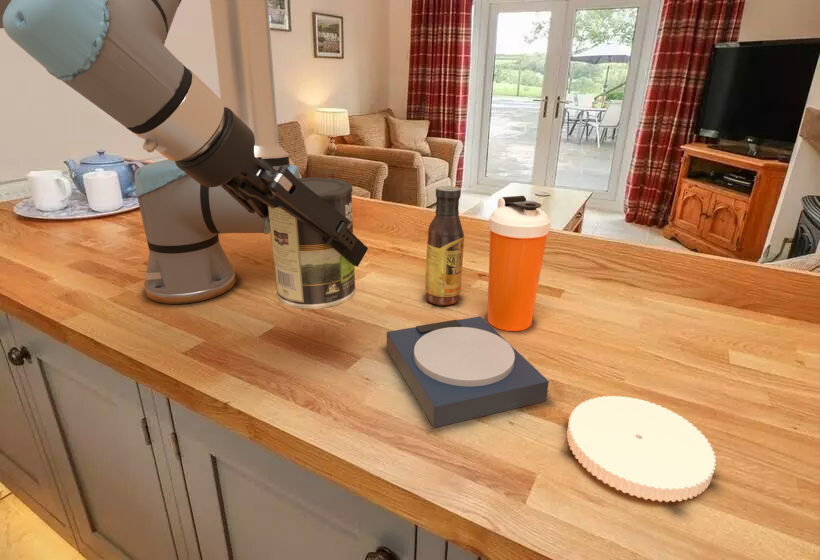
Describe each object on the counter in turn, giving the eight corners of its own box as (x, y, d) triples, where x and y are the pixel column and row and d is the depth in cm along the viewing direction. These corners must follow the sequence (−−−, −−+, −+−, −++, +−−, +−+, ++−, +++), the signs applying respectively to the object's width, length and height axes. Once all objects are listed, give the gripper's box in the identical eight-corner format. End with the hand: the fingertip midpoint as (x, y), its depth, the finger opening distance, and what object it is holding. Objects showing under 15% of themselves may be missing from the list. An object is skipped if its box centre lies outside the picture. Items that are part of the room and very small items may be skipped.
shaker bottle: (504, 339, 74) (516, 210, 66) (470, 315, 82) (478, 196, 74) (549, 327, 78) (566, 203, 70) (513, 304, 85) (525, 191, 77)
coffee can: (365, 280, 68) (362, 179, 62) (341, 314, 59) (335, 198, 53) (295, 273, 70) (287, 174, 64) (261, 305, 61) (247, 192, 55)
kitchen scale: (386, 349, 71) (386, 325, 70) (479, 333, 76) (480, 310, 74) (433, 428, 56) (434, 399, 54) (546, 401, 60) (550, 374, 59)
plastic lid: (735, 467, 51) (742, 448, 50) (661, 535, 43) (668, 514, 42) (614, 399, 61) (618, 382, 60) (538, 443, 54) (541, 425, 53)
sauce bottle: (449, 310, 83) (455, 194, 75) (418, 301, 86) (420, 189, 78) (466, 296, 88) (473, 187, 80) (436, 289, 91) (440, 182, 83)
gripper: (125, 151, 53) (266, 251, 70) (244, 183, 39) (381, 296, 57) (165, 97, 54) (293, 207, 72) (292, 109, 41) (411, 241, 58)
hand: (332, 247), depth 64 cm, fingers closed on coffee can, 10 cm apart
